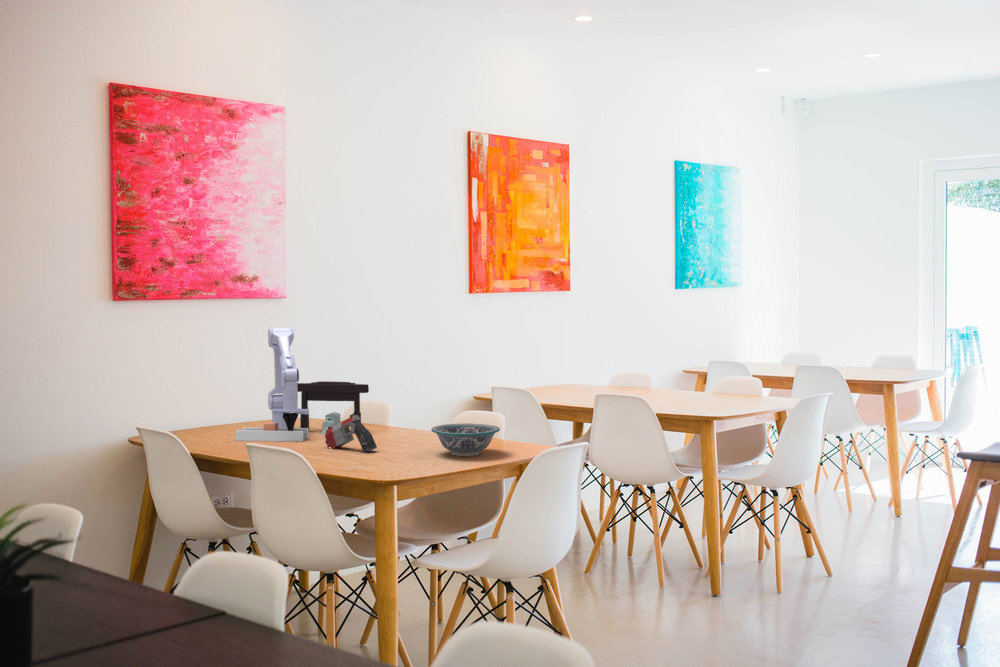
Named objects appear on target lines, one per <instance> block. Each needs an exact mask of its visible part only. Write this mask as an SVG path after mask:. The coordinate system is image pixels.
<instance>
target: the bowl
mask: <svg viewBox="0 0 1000 667" xmlns="http://www.w3.org/2000/svg"><path fill="white" fill-rule="evenodd" d="M500 430H501V428H500V426H495V425H491V424H485V423H469V422H468V423H449V424H448V423H447V424H441V425H436V426H433V427H431V432H432V433H434V434H436V435H437V437H438V440H439V441H440V443H441V445H442V447H443V448H444V449H446V450H448V451H449V452H450V454H452V455H451V456H453V455H457V456H456V457H459V456H472V457H475V456H474V455H478V456H480V455H481V451H483V450H485V449H487V448H488V447H489V445H490V444H491V442H492V439H493V438H494V435H495V434H496V433H498V432H500ZM479 454H480V455H479Z"/></svg>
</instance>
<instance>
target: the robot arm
mask: <svg viewBox="0 0 1000 667" xmlns="http://www.w3.org/2000/svg"><path fill="white" fill-rule="evenodd" d="M294 333H295V332H294V328H293V327H292V326H289V327H288V326H287V327H286V326H285V327H269V328H268V330H267V338H268V340H267V342H268V343H267V344H268V347H269V348H272V349H273V363H274V366H273V369H274V387H272V389H270V390H269V391H268V395H267V396H268V397H267V406H268V409H269V410H270V411H271V422H278V428H288V431H293V429H294V428H295V424H296V422H297V419H298V417H299V415H300V414H307V415H308V414H309V415H310V409H309V408H308V409H301V408H299V406H298V405H299V402H298V400H299V398H298V396H299V395H298V384H297V383H299V380H300V370H299V367H298V366H297V365H296V362H295V357H294V355H293V354H292V353H291V345H292V344H293V341H294V340H295V339H294V337H295V335H294Z"/></svg>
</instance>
